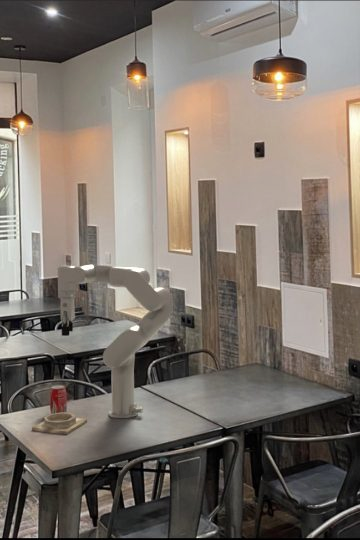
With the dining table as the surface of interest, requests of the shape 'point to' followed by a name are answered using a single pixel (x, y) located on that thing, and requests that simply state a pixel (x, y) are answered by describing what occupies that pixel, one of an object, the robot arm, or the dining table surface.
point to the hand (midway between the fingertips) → (67, 333)
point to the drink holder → (59, 423)
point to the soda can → (58, 399)
